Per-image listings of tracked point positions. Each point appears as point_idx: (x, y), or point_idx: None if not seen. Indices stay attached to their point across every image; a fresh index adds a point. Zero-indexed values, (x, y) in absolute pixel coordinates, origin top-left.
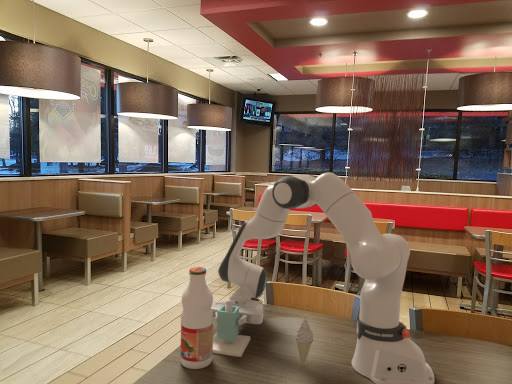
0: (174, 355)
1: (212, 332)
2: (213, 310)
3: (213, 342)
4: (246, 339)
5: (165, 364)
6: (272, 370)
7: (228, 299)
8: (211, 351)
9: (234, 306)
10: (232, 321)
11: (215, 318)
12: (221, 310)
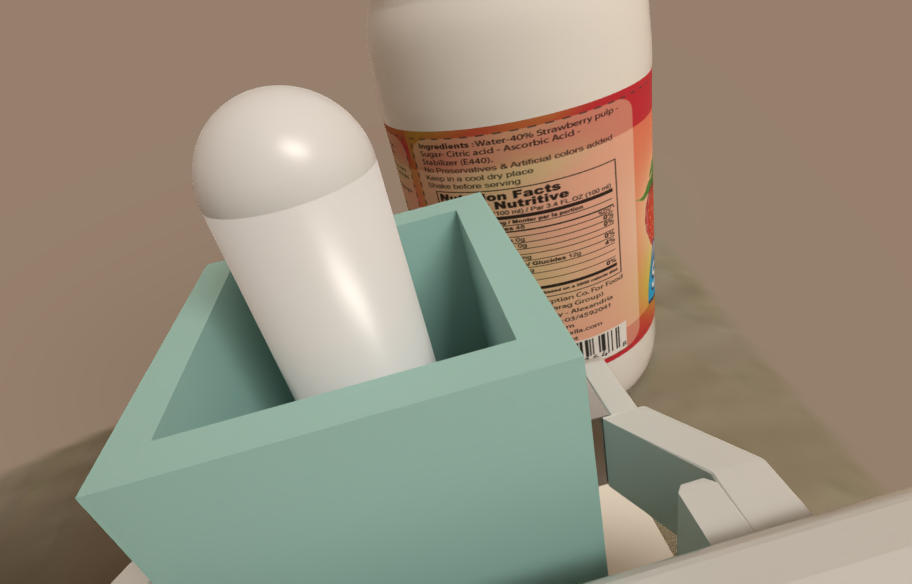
0: (723, 324)
1: (406, 198)
2: (907, 495)
3: (610, 549)
4: None
5: (668, 269)
6: (62, 505)
7: (265, 87)
8: None
9: (222, 432)
10: None
11: (589, 361)
12: (479, 278)
